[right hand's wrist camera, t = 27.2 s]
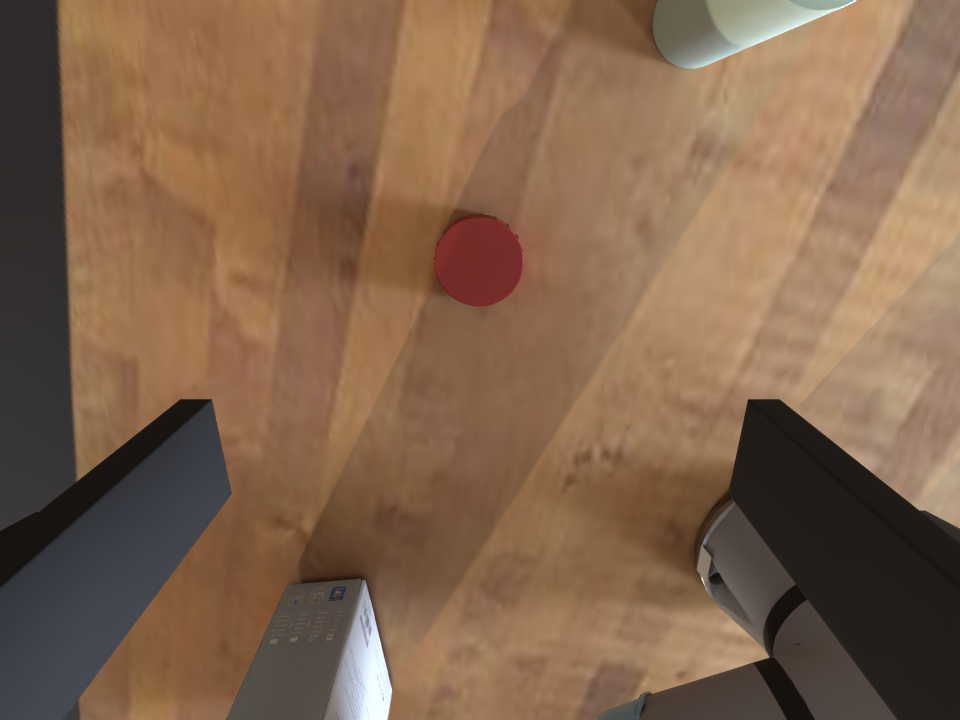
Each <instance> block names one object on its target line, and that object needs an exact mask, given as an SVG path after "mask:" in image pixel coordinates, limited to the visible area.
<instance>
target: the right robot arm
mask: <svg viewBox="0 0 960 720" xmlns="http://www.w3.org/2000/svg"><path fill="white" fill-rule="evenodd" d="M231 494H232V493H231V489H230V484H229V479H228V474H227V469H226V465H225V460H224V455H223V450H222V446H221V441H220V436H219V431H218V426H217V422H216V417H215V412H214V407H213V403H212V399H180V400H179V401H178V402H177V403H175V404H174V405H173V406H172V407H170V408H169V409H168V410H167V411H165V412H164V413H163V414H162V415H160V416H159V417H158V418H157V419H155V420H154V421H153V422H152V423H150V424H149V425H148V426H146V427H145V428H144V429H143V430H141V431H140V432H139V433H138V434H136V435H135V436H134V437H133V438H131V439H130V440H129V441H128V442H126V443H125V444H124V445H123V446H121V447H120V448H119V449H118V450H116V451H115V452H114V453H113V454H111V455H110V456H109V457H107V458H106V459H105V460H104V461H102V462H101V463H100V464H99V465H97V466H96V467H95V468H94V469H92V470H91V471H90V472H89V473H87V474H86V475H85V476H84V477H82V478H81V479H80V480H79V481H77V482H76V483H75V484H74V485H72V486H71V487H70V488H69V489H67V490H66V491H65V492H64V493H62V494H61V495H60V496H58V497H57V498H56V499H55V500H53V501H52V502H51V503H50V504H48V505H47V506H46V507H45V508H43V509H42V510H41V511H40V512H36V513H33V514H32V515H30V516H28V517H26V518H24V519H22V520H20V521H18V522H16V523H15V524H13V525H11V526H9V527H7V528H5V529H3V530H1V531H0V720H63V719H64V717H65V716H66V715H67V713H68V712H69V711H70V709H71V708H72V707H73V705H74V704H75V703H76V701H77V700H78V699H79V697H80V696H81V695H82V693H83V692H84V691H85V689H86V688H87V687H88V685H89V684H90V683H91V681H92V680H93V679H94V677H95V676H96V675H97V673H98V672H99V671H100V669H101V668H102V667H103V665H104V664H105V663H106V661H107V660H108V659H109V657H110V656H111V655H112V653H113V652H114V651H115V649H116V648H117V647H118V645H119V644H120V643H121V641H122V640H123V638H124V637H125V636H126V634H127V633H128V632H129V630H130V629H131V628H132V626H133V625H134V624H135V622H136V621H137V620H138V618H139V617H140V616H141V614H142V613H143V612H144V610H145V609H146V608H147V606H148V605H149V604H150V602H151V601H152V600H153V598H154V597H155V596H156V594H157V593H158V592H159V590H160V589H161V588H162V586H163V585H164V584H165V582H166V581H167V580H168V578H169V577H170V576H171V574H172V573H173V572H174V570H175V569H176V568H177V566H178V565H179V564H180V562H181V561H182V560H183V558H184V557H185V556H186V554H187V553H188V551H189V550H190V549H191V547H192V546H193V545H194V543H195V542H196V541H197V539H198V538H199V537H200V535H201V534H202V533H203V531H204V530H205V529H206V527H207V526H208V525H209V523H210V522H211V521H212V519H213V518H214V517H215V515H216V514H217V513H218V511H219V510H220V509H221V507H222V506H223V505H224V503H225V502H226V501H227V499H228V498H229V497H230V495H231ZM728 494H729V495H728V496H727V497H726V498H725V499H723V500H722V501H721V502H720V503H719V504H718V505H717V506H716V507H715V508H714V509H713V510H712V511H711V513H710V514H709V515H708V517H707V518H706V519H705V521H704V523H703V524H702V526H701V528H700V530H699V533H698V535H697V538H696V542H695V548H694V561H695V567H696V570H697V573H698V575H699V577H700V579H701V581H702V583H703V585H704V587H705V589H706V590H707V592H708V594H709V595H710V596H711V598H712V599H713V600H714V601H715V602H716V604H717V605H718V606H719V607H720V608H721V609H722V610H723V611H724V612H725V613H726V614H728V615H729V616H730V617H731V618H732V619H733V620H734V621H735V622H736V623H737V624H738V625H740V626H741V627H742V628H743V629H744V630H745V631H746V632H747V633H748V634H749V635H750V636H751V637H753V638H754V639H755V640H756V641H757V642H758V643H759V644H760V645H761V646H762V647H763V648H764V649H765V650H766V652H767V653H768V655H769V657H770V658H767V659H764V660H761V661H757V662H754V663H750V664H747V665H744V666H741V667H738V668H735V669H732V670H729V671H726V672H722V673H719V674H716V675H713V676H709V677H706V678H703V679H700V680H696V681H693V682H690V683H687V684H683V685H680V686H677V687H674V688H670V689H667V690H664V691H661V692H658V693H654V694H652V693H651V692H645V693H643V694H641V695H640V697H639V699H636V700H634V701H631V702H629V703H626V704H623V705H621V706H618V707H615V708H613V709H610V710H607V711H606V712H604V713H602V714H601V715H600V716H599V717H598V718H597V719H596V720H960V529H959V528H957V527H955V526H954V525H952V524H950V523H948V522H946V521H944V520H942V519H940V518H938V517H936V516H934V515H933V514H931V513H929V512H927V511H919V510H918V509H917V508H915V507H914V506H913V505H912V504H910V503H909V502H908V501H907V500H905V499H904V498H903V497H902V496H900V495H899V494H898V493H897V492H895V491H894V490H893V489H891V488H890V487H889V486H888V485H886V484H885V483H884V482H883V481H881V480H880V479H879V478H878V477H876V476H875V475H874V474H873V473H871V472H870V471H869V470H868V469H866V468H865V467H864V466H863V465H861V464H860V463H859V462H858V461H856V460H855V459H854V458H853V457H851V456H850V455H849V454H847V453H846V452H845V451H844V450H842V449H841V448H840V447H839V446H837V445H836V444H835V443H834V442H832V441H831V440H830V439H829V438H827V437H826V436H825V435H824V434H822V433H821V432H820V431H819V430H817V429H816V428H815V427H814V426H812V425H811V424H810V423H808V422H807V421H806V420H805V419H803V418H802V417H801V416H800V415H798V414H797V413H796V412H795V411H793V410H792V409H791V408H790V407H788V406H787V405H786V404H785V403H783V402H782V401H781V400H780V399H748V403H747V407H746V412H745V417H744V422H743V426H742V431H741V436H740V441H739V446H738V450H737V455H736V460H735V465H734V469H733V474H732V479H731V484H730V489H729V493H728Z"/></svg>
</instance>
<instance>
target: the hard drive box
mask: <svg viewBox="0 0 960 720" xmlns="http://www.w3.org/2000/svg"><path fill="white" fill-rule="evenodd" d="M391 696H392V688H391V684H390V680H389V676H388V671H387V667H386V663H385V659H384V655H383V651H382V647H381V642H380V638H379V634H378V630H377V626H376V622H375V617H374V612H373V608H372V604H371V600H370V597H369V593H368V588H367V585H366V581H365V580H361V579H360V578H359V579H348V580H338V581H326V582H315V583H303V584H293V585H287V586H286V589H285V591H284V593H283V595H282V597H281V599H280V602H279V604H278V606H277V608H276V610H275V613H274V615H273V617H272V619H271V621H270V624H269V626H268V628H267V630H266V632H265V635H264V637H263V639H262V641H261V643H260V646H259V648H258V650H257V652H256V655H255V657H254V659H253V661H252V663H251V666H250V668H249V670H248V672H247V675H246V677H245V679H244V681H243V683H242V686H241V688H240V690H239V692H238V695H237V697H236V699H235V701H234V703H233V706H232V708H231V710H230V712H229V715H228V717H227V719H226V720H388V714H389V708H390V702H391Z"/></svg>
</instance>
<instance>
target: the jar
mask: <svg viewBox="0 0 960 720" xmlns="http://www.w3.org/2000/svg"><path fill="white" fill-rule="evenodd" d="M855 1H856V0H658V1H657V4H656V7H655V10H654V15H653V35H654V39H655V43H656V45H657V47H658V49H659V51H660V53H661V54H662V55H663V56H664V58H665V59H667V60H668V61H669V62H670V63H672V64H673V65H676V66H678V67H681V68H687V69H693V68H700V67H703V66H706V65H708V64H711V63H713V62H715V61H718V60H720V59H722V58H725V57H727V56H729V55H732V54H734V53H736V52H739V51H741V50H744V49H746V48H748V47H751V46H753V45H755V44H758V43H760V42H762V41H765V40H767V39H769V38H772V37H774V36H776V35H779V34H781V33H784V32H786V31H788V30H791V29H793V28H795V27H798V26H800V25H802V24H805V23H807V22H809V21H812V20H814V19H817V18H819V17H821V16H824V15H826V14H828V13H831V12H833V11H835V10H838V9H840V8H842V7H845V6H847V5H849V4H851V3H853V2H855Z"/></svg>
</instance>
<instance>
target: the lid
mask: <svg viewBox="0 0 960 720" xmlns="http://www.w3.org/2000/svg"><path fill="white" fill-rule="evenodd" d="M437 246H438V247H437V250H436V255H435V258H434V260H435V269H436V273H437V277H438V279H439V281H440V283H441V285H442V287H443V288H444V289H445V291H446V292H447V293H448V294H449V295H450V296H452V297H453V298H454V299H456V300H458V301H459V302H462V303H464V304H467V305H472V306H487V305H491V304H494V303H497V302H499V301H501V300H503V299H504V298H506V297H507V296H508V295H509V294H510V293H511V292H512V291H513V290H514V289H515V287H516V286H517V284H518V282H519V280H520V279H521V275H522V272H523V266H524V259H523V249H522V247H521V245H520V243H519V241H518V236H517V234H516V235H515V234H514V232H513V231H512V230H511V228H510V227H509V225H508V224H507V225H506V224H505V223H504V222H502V221H501V220H499V219H497V217H492V216H488V215H483V214H482V215H471V216H470V215H468V216H467V217H464V218H461V219H460V220H458V221H457V220H456V221H455V222H454V223H453V224H452V225H451V226H450V227H449V228H448V229H447V230H445V231H444V235H443V236H442V238H441V240H440V241H439V242H438V244H437Z"/></svg>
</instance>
